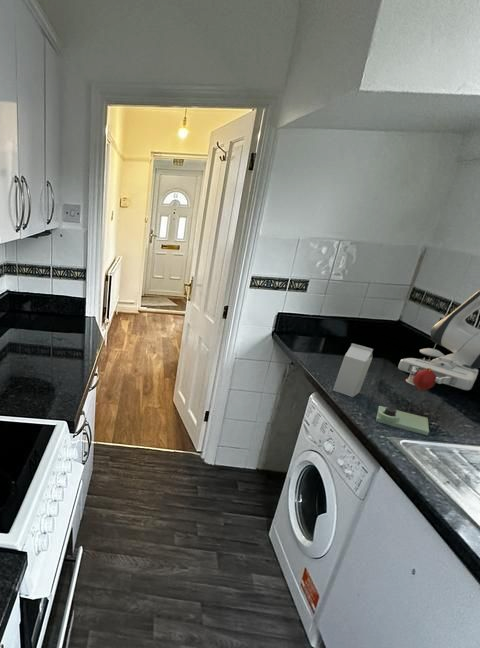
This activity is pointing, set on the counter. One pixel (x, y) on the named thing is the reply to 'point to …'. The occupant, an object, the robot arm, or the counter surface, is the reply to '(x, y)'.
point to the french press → (427, 352)
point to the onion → (424, 379)
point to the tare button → (390, 412)
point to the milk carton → (353, 370)
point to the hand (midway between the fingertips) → (425, 376)
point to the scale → (404, 421)
